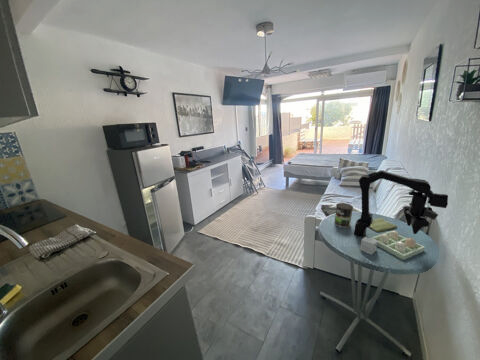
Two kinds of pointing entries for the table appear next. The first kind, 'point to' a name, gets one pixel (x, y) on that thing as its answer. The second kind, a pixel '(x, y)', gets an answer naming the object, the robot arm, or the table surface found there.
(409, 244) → the brown egg
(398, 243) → the egg
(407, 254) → the egg tray
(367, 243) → the skincare box
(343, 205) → the coffee can
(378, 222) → the washcloth
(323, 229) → the table surface
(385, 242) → the egg
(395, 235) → the egg
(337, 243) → the table surface
